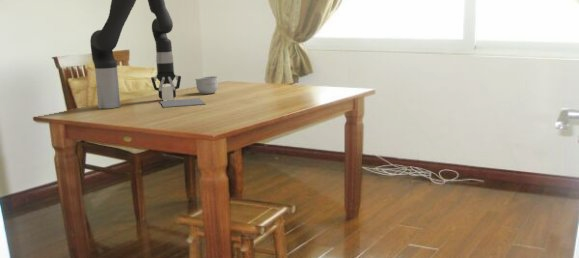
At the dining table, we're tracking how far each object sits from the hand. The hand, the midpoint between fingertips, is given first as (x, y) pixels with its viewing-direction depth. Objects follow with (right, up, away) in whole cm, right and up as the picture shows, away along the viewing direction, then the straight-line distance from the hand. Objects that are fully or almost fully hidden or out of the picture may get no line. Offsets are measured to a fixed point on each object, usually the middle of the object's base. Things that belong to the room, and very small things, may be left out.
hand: (167, 98), depth 279 cm
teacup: (+17, +4, +19) cm, 26 cm away
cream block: (0, -1, 0) cm, 1 cm away
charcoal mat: (+9, -3, -12) cm, 15 cm away
